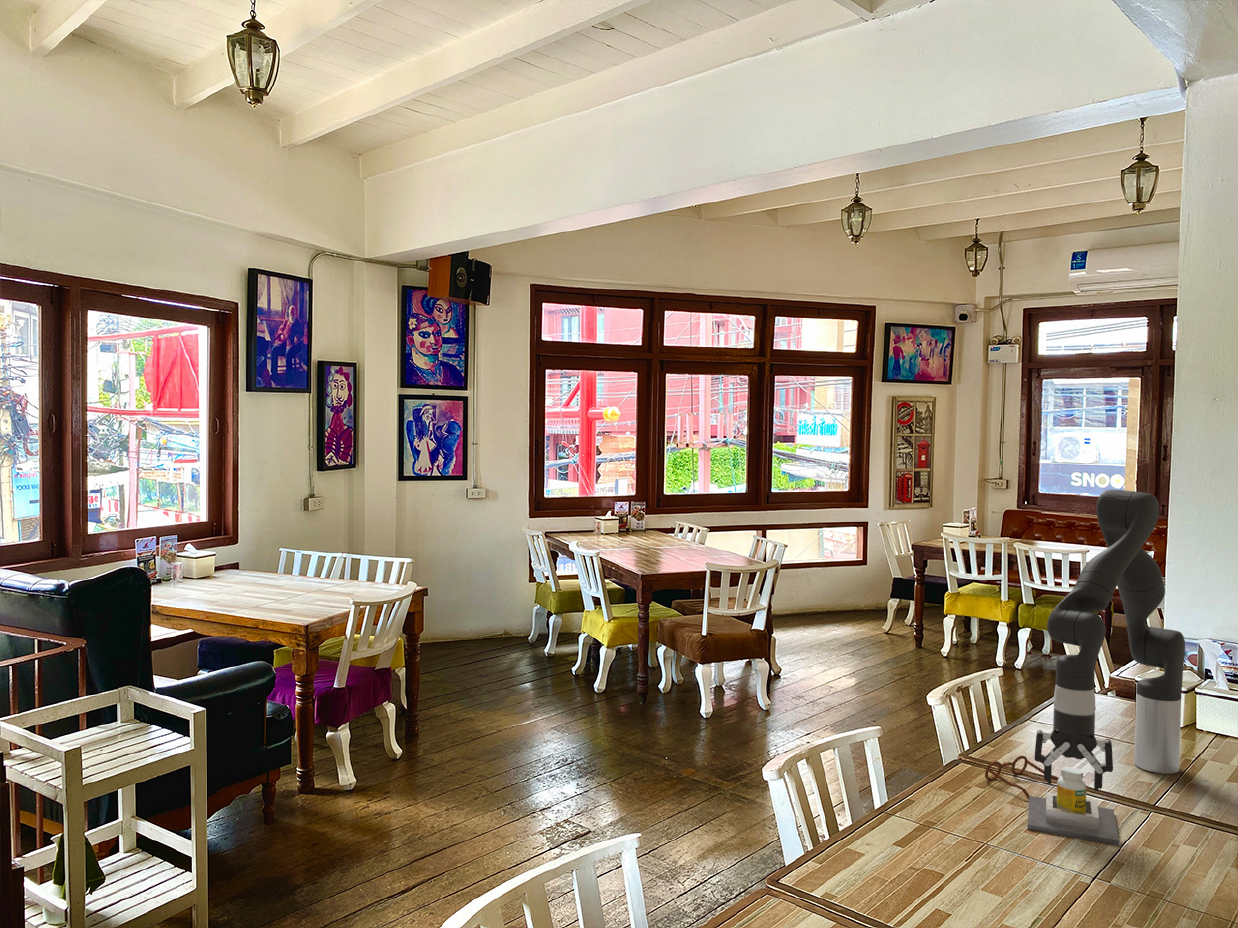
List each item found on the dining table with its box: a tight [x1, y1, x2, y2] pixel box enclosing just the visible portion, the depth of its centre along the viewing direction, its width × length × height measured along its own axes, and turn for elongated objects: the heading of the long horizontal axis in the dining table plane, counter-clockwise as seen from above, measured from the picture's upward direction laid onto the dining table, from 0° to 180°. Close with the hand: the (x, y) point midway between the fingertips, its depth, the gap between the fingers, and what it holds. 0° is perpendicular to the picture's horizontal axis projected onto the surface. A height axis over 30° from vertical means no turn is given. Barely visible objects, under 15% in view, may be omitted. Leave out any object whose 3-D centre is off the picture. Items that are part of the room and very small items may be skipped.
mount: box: [1027, 792, 1120, 846], centre depth 184 cm, size 16×16×4 cm
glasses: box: [984, 755, 1060, 801], centre depth 202 cm, size 13×13×5 cm
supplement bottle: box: [1056, 766, 1087, 813], centre depth 184 cm, size 5×5×10 cm
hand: (1072, 786), depth 184 cm, fingers open, 8 cm apart
